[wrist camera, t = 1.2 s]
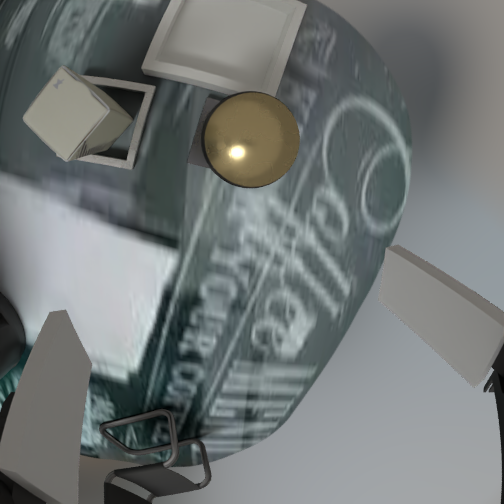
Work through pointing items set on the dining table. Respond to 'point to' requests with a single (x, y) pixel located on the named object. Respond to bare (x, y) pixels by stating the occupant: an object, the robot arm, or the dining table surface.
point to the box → (75, 116)
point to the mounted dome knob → (246, 139)
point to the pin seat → (140, 123)
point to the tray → (225, 43)
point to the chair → (152, 466)
